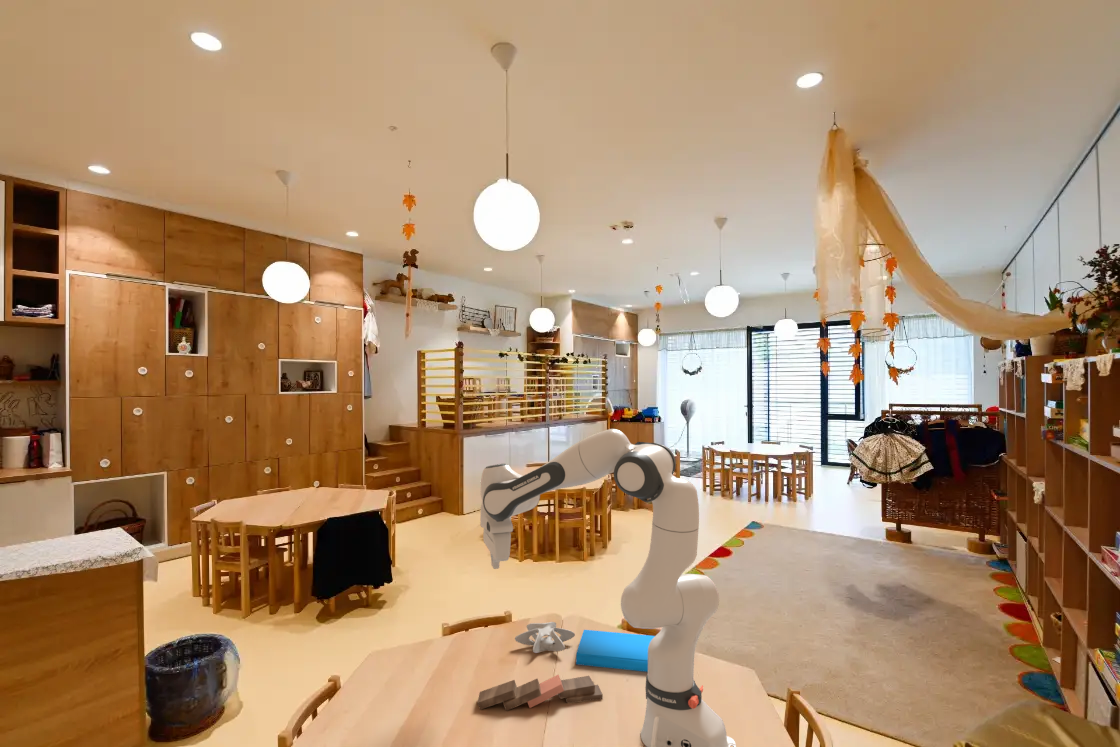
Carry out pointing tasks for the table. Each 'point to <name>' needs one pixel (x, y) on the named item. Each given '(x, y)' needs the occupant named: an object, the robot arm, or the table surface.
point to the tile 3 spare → (548, 690)
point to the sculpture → (546, 642)
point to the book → (614, 650)
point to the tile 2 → (524, 694)
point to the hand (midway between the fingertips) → (495, 567)
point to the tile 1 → (497, 694)
